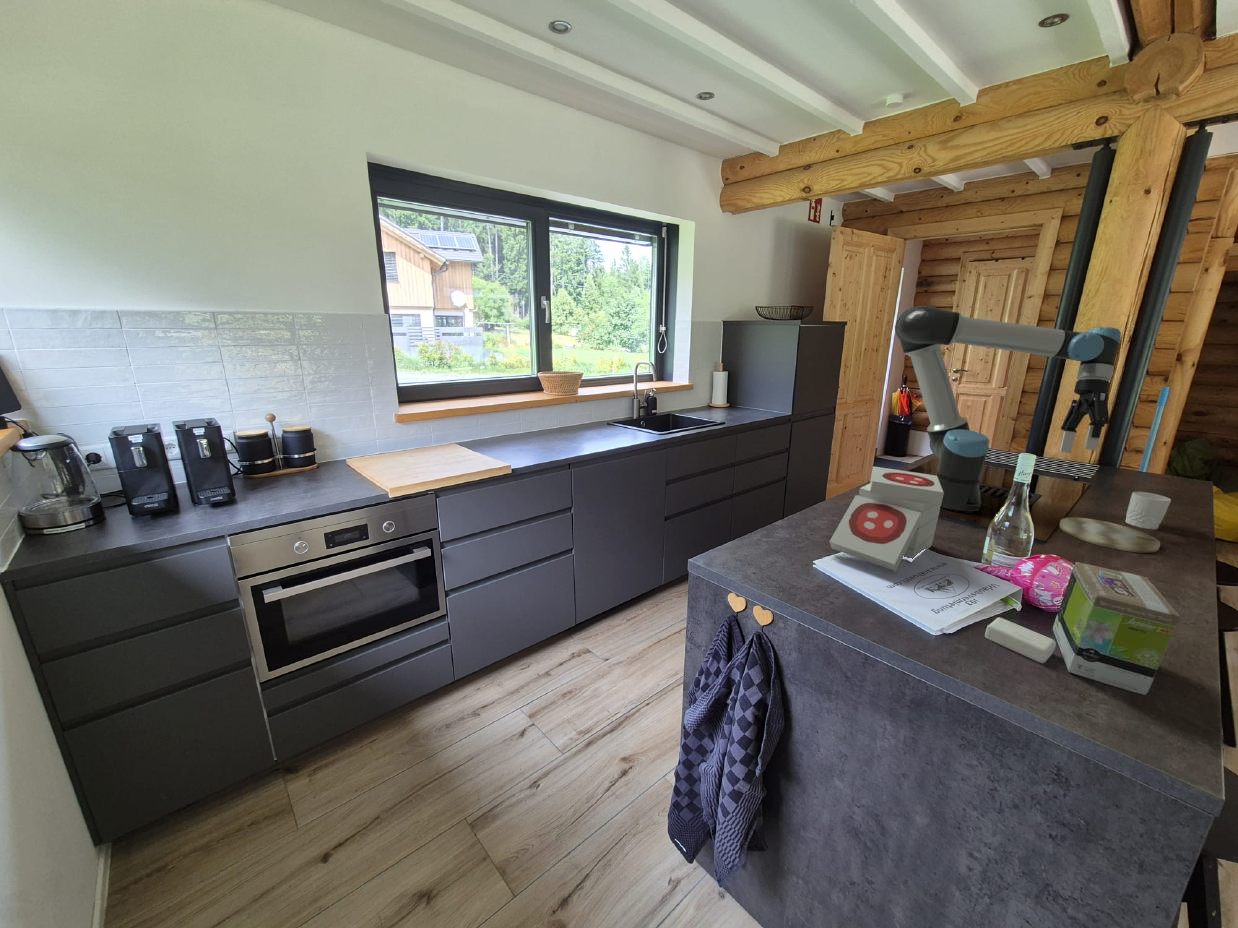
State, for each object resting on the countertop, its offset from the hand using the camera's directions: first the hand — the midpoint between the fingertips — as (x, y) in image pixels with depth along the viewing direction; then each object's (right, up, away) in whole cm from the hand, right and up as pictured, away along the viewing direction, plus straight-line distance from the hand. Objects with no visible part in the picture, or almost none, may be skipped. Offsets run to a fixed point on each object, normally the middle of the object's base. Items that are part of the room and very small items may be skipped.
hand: (1077, 451), depth 149 cm
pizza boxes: (-70, -26, -23) cm, 78 cm away
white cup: (+17, -23, -2) cm, 28 cm away
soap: (-65, -37, -59) cm, 95 cm away
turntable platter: (-3, -24, -12) cm, 27 cm away
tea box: (-54, -38, -62) cm, 91 cm away
